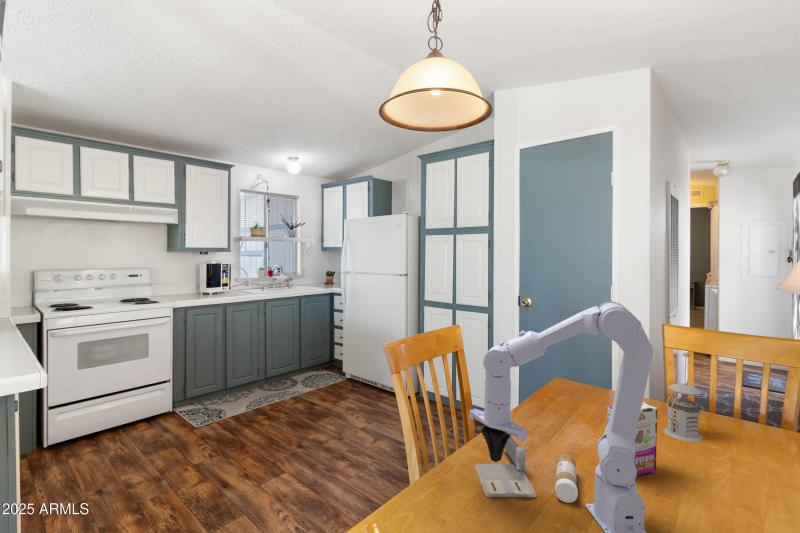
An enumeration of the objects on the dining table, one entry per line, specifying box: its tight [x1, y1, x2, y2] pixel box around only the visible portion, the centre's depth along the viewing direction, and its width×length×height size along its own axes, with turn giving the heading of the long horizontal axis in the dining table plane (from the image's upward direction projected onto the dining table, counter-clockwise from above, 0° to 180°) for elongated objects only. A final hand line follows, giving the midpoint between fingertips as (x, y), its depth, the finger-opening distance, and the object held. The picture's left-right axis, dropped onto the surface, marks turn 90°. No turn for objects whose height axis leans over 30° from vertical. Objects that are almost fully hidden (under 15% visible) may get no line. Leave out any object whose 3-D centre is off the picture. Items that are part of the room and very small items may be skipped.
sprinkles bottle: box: [554, 454, 579, 504], centre depth 94 cm, size 5×5×14 cm
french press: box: [662, 351, 704, 443], centre depth 120 cm, size 10×12×25 cm
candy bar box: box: [606, 401, 658, 477], centre depth 100 cm, size 11×5×16 cm, turn 105°
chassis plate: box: [475, 463, 537, 498], centre depth 95 cm, size 12×11×1 cm
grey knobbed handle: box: [504, 435, 527, 471], centre depth 104 cm, size 2×12×5 cm, turn 4°
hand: (496, 459), depth 91 cm, fingers closed
